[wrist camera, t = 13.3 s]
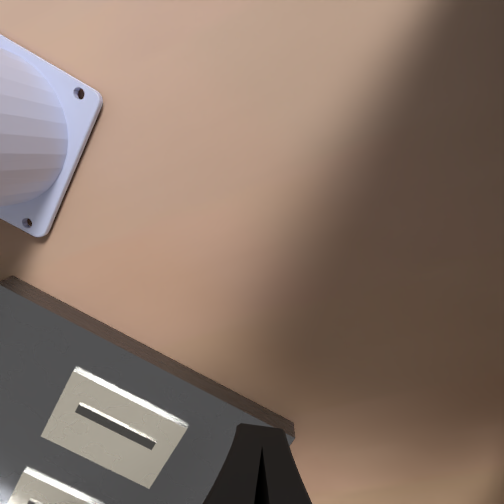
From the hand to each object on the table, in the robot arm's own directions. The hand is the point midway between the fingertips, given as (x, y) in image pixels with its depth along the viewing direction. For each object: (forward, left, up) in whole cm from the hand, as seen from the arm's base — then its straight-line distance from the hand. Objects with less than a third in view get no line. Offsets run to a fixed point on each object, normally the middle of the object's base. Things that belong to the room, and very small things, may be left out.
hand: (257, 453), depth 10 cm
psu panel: (-4, -16, -9) cm, 19 cm away
